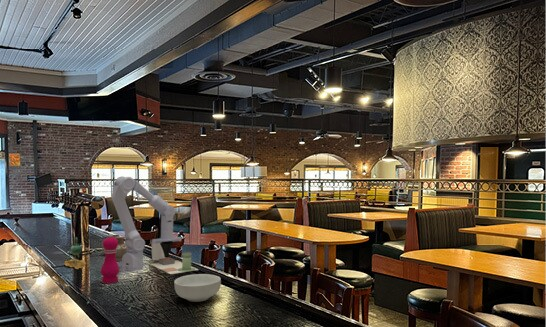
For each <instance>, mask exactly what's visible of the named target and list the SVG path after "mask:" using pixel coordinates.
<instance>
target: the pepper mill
mask: <svg viewBox="0 0 546 327" xmlns="http://www.w3.org/2000/svg"><path fill="white" fill-rule="evenodd" d="M113 235H114V234H113V233H109V234H107V236H109V238H107V237H106V238H105V239H104V240H103V241H102V244H103V246H102V248H103V247H104V248H105V249H103V254H104V256H105V257H104V261H103V264H102V265H101V269H100V274H101V275H102V277H101V283H103V284H115V283H117V282H118V281H119V277H118V274H119V273H120V266H119V264H118V261H116V252H117V249H116V247H117V246H118V240H117V239H116V238H114V237H113Z"/></svg>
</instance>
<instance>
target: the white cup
mask: <svg viewBox="0 0 546 327" xmlns="http://www.w3.org/2000/svg"><path fill="white" fill-rule="evenodd" d="M150 245H151V257H152V258H151V259H152V261H159V259H163V258H166V257H164V252H163V249H162V247H161V245H160V243H155V244H152V241H151V244H150Z"/></svg>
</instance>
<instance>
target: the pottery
mask: <svg viewBox="0 0 546 327" xmlns="http://www.w3.org/2000/svg"><path fill="white" fill-rule="evenodd" d="M113 237H114V238H116V239H117V240H118V246H117V247H116V249H117V252H116V261H117V262H122V257H123V255H124V254H126V252H127V247H126V245H125V236H121V235H119V234H113ZM106 238H109V236H108V235H107V236H106ZM101 245H102V246H101V247H102V249H103V250H104V249H105V248H104V247H103V243H102V244H101Z"/></svg>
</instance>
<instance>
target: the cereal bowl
mask: <svg viewBox="0 0 546 327" xmlns="http://www.w3.org/2000/svg"><path fill="white" fill-rule="evenodd" d="M173 282H174V283H173V284H174V290H175V293H176V295H178V297H180V298H182V299H185V300H187V301H189V302H193V303H195V302H197V303H198V302H200V303H201V302H203V301H204V302H205V301H207V300H209V298H211V297H214V296H215V295H217V293H218V292H219V291H220V288H221V285H222V280H221V277H220V276H218V275H215V274H209V273H198V274H197V273H196V274H187V275H183V276H180V277H178V278H175V280H173Z"/></svg>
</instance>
